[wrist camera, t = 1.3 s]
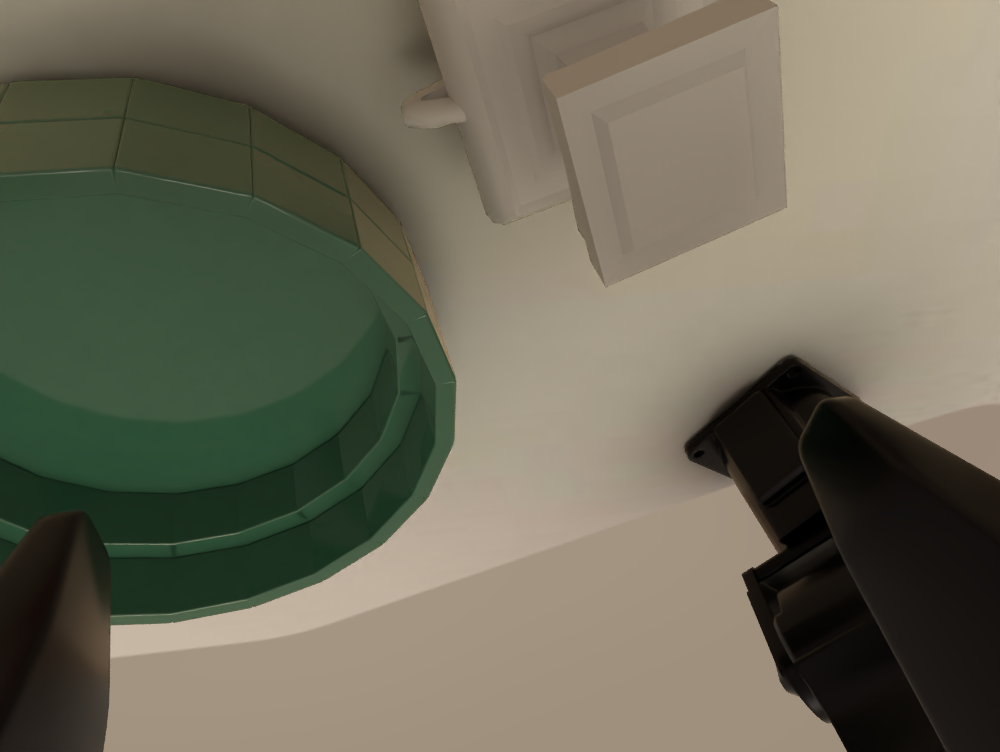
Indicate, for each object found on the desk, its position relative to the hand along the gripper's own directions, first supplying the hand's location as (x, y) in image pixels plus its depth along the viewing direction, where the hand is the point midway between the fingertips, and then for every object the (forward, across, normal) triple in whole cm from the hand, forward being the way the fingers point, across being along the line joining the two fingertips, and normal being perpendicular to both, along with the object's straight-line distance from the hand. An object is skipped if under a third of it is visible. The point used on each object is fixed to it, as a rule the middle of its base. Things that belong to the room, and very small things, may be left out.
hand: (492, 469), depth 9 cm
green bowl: (+14, +6, +8) cm, 17 cm away
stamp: (+14, -5, -1) cm, 15 cm away
